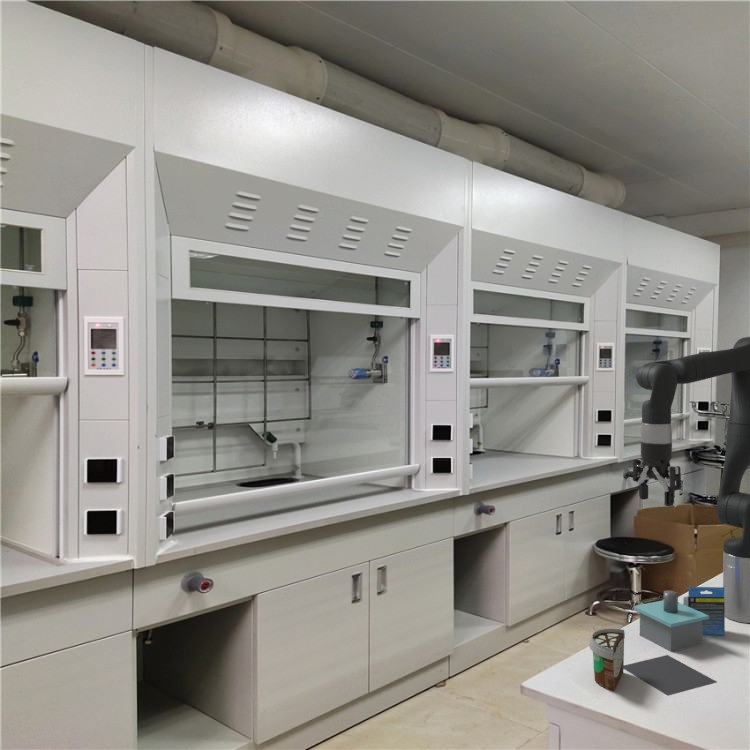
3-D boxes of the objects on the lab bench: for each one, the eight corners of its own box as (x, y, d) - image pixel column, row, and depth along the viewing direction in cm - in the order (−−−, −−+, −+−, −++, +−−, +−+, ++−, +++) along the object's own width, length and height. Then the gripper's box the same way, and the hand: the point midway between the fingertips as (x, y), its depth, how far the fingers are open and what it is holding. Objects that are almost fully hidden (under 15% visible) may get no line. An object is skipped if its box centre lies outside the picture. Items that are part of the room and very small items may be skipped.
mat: (667, 657, 161) (667, 654, 161) (717, 684, 148) (717, 681, 148) (620, 668, 156) (620, 666, 156) (667, 698, 143) (667, 695, 143)
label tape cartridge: (718, 629, 176) (719, 582, 176) (725, 635, 172) (725, 587, 172) (682, 628, 177) (683, 581, 177) (688, 635, 173) (688, 586, 173)
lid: (670, 601, 177) (670, 581, 177) (708, 618, 166) (709, 597, 166) (633, 609, 172) (633, 588, 172) (670, 627, 161) (670, 605, 161)
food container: (596, 666, 157) (596, 623, 157) (624, 672, 154) (624, 628, 154) (582, 690, 147) (582, 644, 146) (612, 697, 144) (612, 650, 143)
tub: (670, 630, 176) (670, 603, 176) (702, 646, 167) (702, 618, 166) (639, 637, 172) (639, 610, 172) (670, 654, 163) (670, 625, 163)
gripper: (689, 442, 173) (688, 506, 174) (647, 436, 186) (646, 495, 187) (666, 445, 170) (666, 509, 171) (625, 437, 183) (625, 498, 184)
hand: (656, 502), depth 179 cm, fingers open, 8 cm apart
